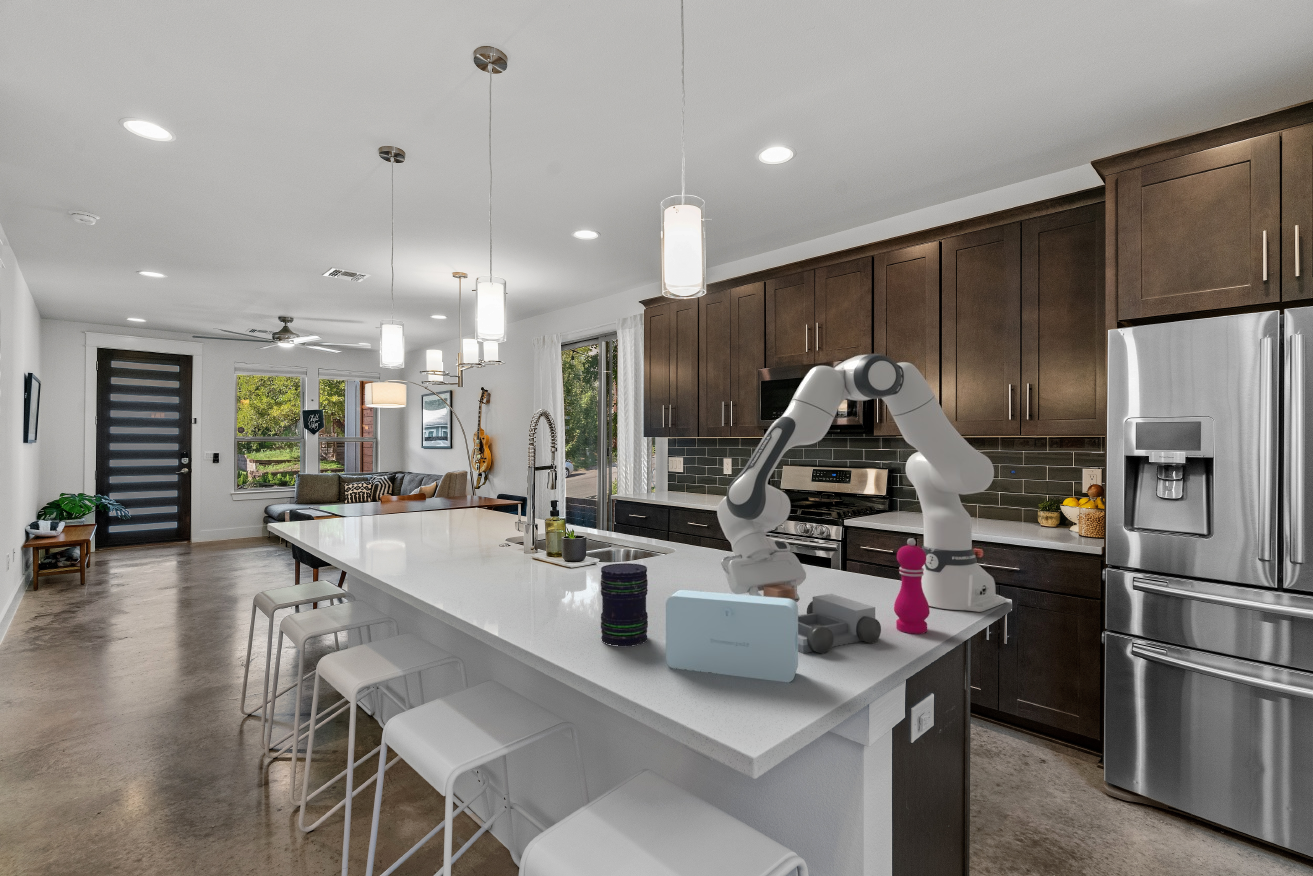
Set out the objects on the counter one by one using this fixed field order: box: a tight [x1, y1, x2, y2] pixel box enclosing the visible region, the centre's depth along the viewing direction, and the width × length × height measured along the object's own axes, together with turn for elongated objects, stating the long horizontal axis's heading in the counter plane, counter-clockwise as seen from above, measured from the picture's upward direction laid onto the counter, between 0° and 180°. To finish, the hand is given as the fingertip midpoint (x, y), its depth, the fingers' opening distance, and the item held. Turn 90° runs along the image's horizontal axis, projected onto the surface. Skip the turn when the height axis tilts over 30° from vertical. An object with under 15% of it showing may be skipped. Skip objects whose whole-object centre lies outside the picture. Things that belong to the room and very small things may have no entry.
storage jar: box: [600, 562, 649, 647], centre depth 133 cm, size 10×10×15 cm
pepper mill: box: [893, 537, 930, 635], centre depth 139 cm, size 7×7×20 cm
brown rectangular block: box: [762, 584, 795, 601], centre depth 144 cm, size 5×5×8 cm
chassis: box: [798, 593, 882, 655], centre depth 134 cm, size 20×17×6 cm
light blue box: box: [665, 589, 799, 683], centre depth 115 cm, size 23×6×13 cm, turn 71°
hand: (780, 603), depth 144 cm, fingers open, 7 cm apart
